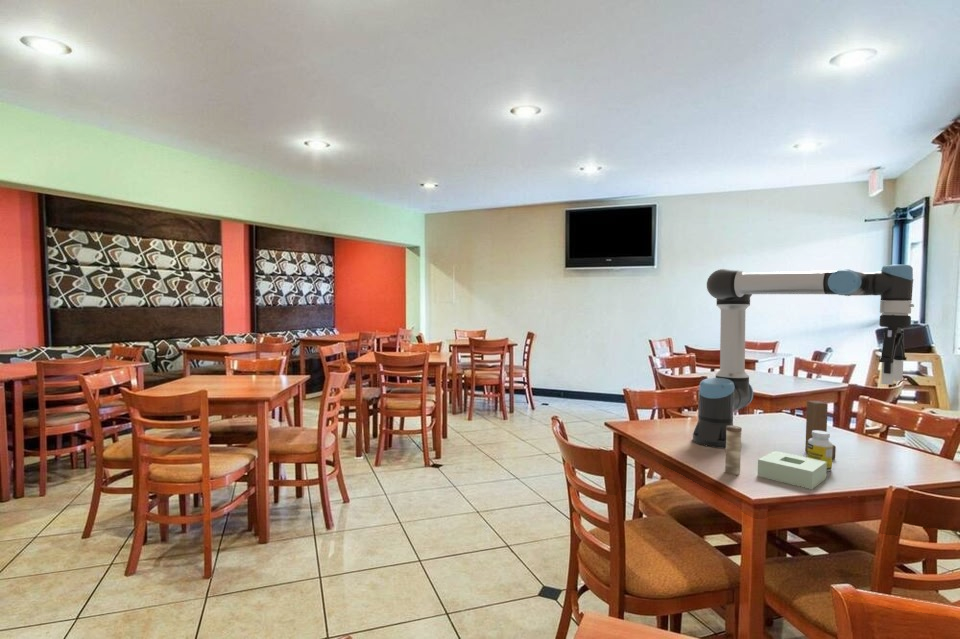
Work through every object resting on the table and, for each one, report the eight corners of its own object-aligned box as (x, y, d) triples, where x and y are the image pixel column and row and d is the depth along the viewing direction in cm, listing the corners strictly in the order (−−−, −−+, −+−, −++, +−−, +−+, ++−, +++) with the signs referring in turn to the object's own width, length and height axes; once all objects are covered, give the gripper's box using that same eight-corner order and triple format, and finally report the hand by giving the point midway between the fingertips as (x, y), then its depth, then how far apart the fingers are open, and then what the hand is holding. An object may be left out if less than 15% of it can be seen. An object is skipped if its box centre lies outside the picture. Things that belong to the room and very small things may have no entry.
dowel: (722, 472, 151) (724, 426, 150) (728, 469, 154) (729, 424, 153) (736, 476, 148) (738, 429, 147) (742, 473, 150) (743, 427, 150)
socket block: (757, 475, 148) (758, 459, 148) (773, 466, 158) (774, 450, 157) (812, 489, 138) (812, 471, 138) (826, 478, 147) (826, 461, 147)
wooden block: (835, 459, 166) (837, 406, 165) (822, 459, 166) (824, 405, 165) (817, 451, 175) (819, 400, 174) (804, 451, 175) (806, 400, 174)
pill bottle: (802, 465, 159) (803, 429, 159) (822, 465, 159) (824, 429, 159) (815, 471, 153) (816, 434, 153) (836, 472, 153) (838, 435, 152)
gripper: (902, 314, 144) (899, 387, 144) (918, 314, 160) (915, 380, 161) (870, 314, 149) (867, 384, 150) (888, 314, 166) (885, 377, 166)
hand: (892, 382), depth 155 cm, fingers open, 13 cm apart
